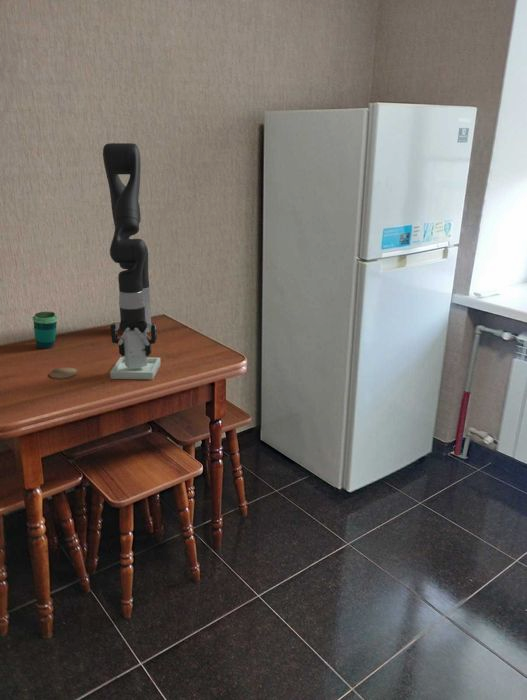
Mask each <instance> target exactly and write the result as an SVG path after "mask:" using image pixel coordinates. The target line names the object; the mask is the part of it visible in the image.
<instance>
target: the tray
mask: <svg viewBox="0 0 527 700" xmlns="http://www.w3.org/2000/svg"><path fill="white" fill-rule="evenodd" d="M161 363H162V362H161V357H147V366H143V367H138V368H132V369H129V368H128V367H126V365H125V358H124V356H120V357H119V358H118V360H117V362H116V363H115V364H114V365H113V367H112V369H111V370H110V372H109V373H110V374H109V375H110V379H116V380H117V379H118V380H120V379H121V380H154V378H155V376H156V374H157V372H158V370H159V368H160V366H161Z"/></svg>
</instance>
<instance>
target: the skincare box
mask: <svg viewBox="0 0 527 700" xmlns="http://www.w3.org/2000/svg"><path fill="white" fill-rule="evenodd" d="M123 333H124V332H123V331H122V334H123ZM125 334H126V338H125V339H124V341H123V342H124V356H123V357H124V358H125V365H126V367H128V368H129V369H132V368H138V367H143V366H147V358H148V356H146V350H145V345H146V344H145V343H144V341H143V340H142V339H141V338H140V337H139V335H138V334H137V333H136V331H135V330H130V331H125ZM143 335H144V336H145V335H146V333H145V331H144V332H143Z"/></svg>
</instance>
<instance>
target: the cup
mask: <svg viewBox="0 0 527 700" xmlns="http://www.w3.org/2000/svg"><path fill="white" fill-rule="evenodd" d="M32 321H33V332H34V339H35V346H36V347H37V349H39V350H47V349H51V348H53V347H54V346H55V340H56V334H57V324H58V317H57V315H56V313H55V312H53V311H40V312H37V313H35V314H34V316H33V317H32Z"/></svg>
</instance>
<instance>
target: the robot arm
mask: <svg viewBox="0 0 527 700" xmlns="http://www.w3.org/2000/svg"><path fill="white" fill-rule="evenodd" d="M102 158H103V164H104V170H105V173H106V179H107V184H108V189H109V193H110V194H109V195H110V206H111V214H112V218H113V224H114V233H113V237H112V239H111V242H110V243H111V244H110V248H109V255H110V258H111V260H112V261H113V262H114V263H116V264H118V265H119V266H120V268H121V269H123V270H121V271H119V273H118V276H117V277H118V278H117V279H118V291H119V292H118V294H119V295H118V304H119V305H118V306H119V316H120V317H119V318H120V322H119V323H116V322H112V323H111V324H110V335H111V342H112V343H113V344H117V345H118V353H119V355H121V356H120V357H124V342H123V341H124V339H125V338H126V334H125V331H130V330H135V331H136V333H137V334H138V335H139V337H140V338H141V339H142V340H143V341H144V343H145V344H146V345H145V350H146V356H147V357H149V356H150V355H151V354H152V345H154V344H155V343H156V342H157V337H158V336H157V324H156V322H153V323H152V313H151V312H152V311H151V295H150V294H151V293H150V280H149V279H150V277H149V249H148V246H147V244H146V242H145V241H144V240H143V239H141V238H131V236H135V235H137V234H138V233H139V231H140V223H141V218H142V217H141V208H140V202H139V198H140V197H139V196H140V186H141V185H140V183H141V167H142V166H141V164H142V163H141V153H140V149H139V146H138V144H136V143H132V142H126V143H125V142H122V143H120V142H119V143H118V142H117V143H115V142H114V143H113V142H111V143H106V144H105V145H104V146H103V149H102ZM119 175H129V179H128V182H127V184H126V185H125V184H124V183H123V181H122V180H121V178H120V176H119ZM119 329H120V330H121V331H122V335H121V336H120V338H119V337H118V330H119ZM144 331H145V333H146V335H145V336H144V335H143V332H144ZM123 332H124V333H123ZM148 333H150V337H149V336H148Z"/></svg>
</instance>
